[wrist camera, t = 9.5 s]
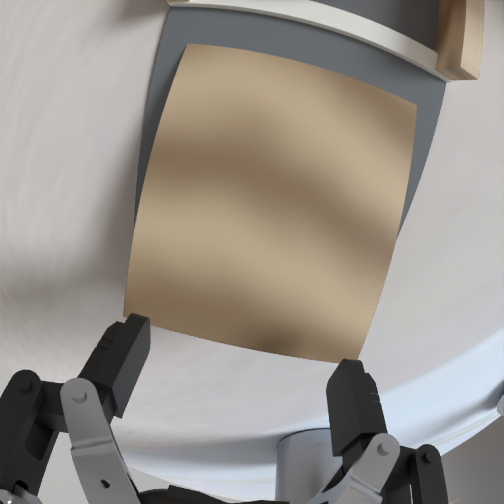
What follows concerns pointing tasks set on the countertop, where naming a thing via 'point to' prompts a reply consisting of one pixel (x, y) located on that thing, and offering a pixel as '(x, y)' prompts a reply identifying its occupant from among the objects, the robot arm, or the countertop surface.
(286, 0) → the mat
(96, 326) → the countertop surface
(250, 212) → the ramp
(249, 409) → the countertop surface
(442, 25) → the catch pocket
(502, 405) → the flower in vase
